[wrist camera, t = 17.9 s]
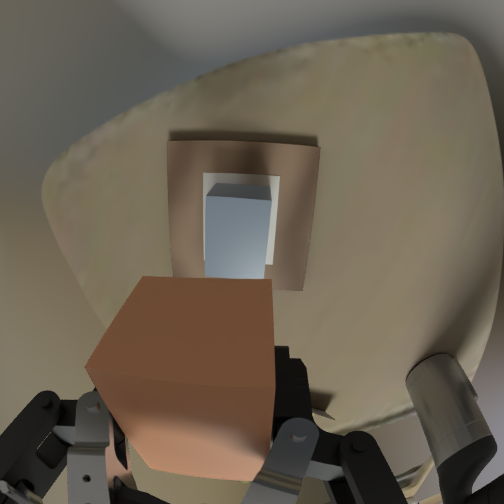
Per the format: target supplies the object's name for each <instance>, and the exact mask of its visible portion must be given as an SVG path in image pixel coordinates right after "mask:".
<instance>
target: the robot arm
mask: <svg viewBox="0 0 504 504" xmlns="http://www.w3.org/2000/svg"><path fill="white" fill-rule="evenodd" d="M274 352H275V385H276V388H275V400H274V412H273V423H272V433H271V443H270V445H272V447H271V449H270V451H269V453H268V455H267V457H266V459H265V461H264V463H263V465H262V467H261V469H260V471H259V472H258V473H257V474H256V476H255V478H254V480H253V481H252V483H251V485H250V487H249V489H248V491H247V493H246V494H245V497H244V498H243V500H242V502H241V504H295V502H296V500H297V497H298V495H299V492H300V490H301V486H302V482H303V479H304V476H309V477H313V478H318V479H322V480H323V482H324V485H325V487H326V490H327V492H328V495H329V498H330V500H331V503H332V504H408V502H407V500H406V498H405V496H404V494H403V492H402V490H401V488H400V486H399V484H398V482H397V480H396V479H395V477H394V475H393V473H392V472H391V469H390V467H389V465H388V463H387V461H386V459H385V457H384V456H383V454H382V452H381V450H380V448H379V446H378V444H377V442H376V440H375V439H374V438H373V437H372V436H371V435H370V434H368V433H366V432H364V431H353V432H350V433H348V434H346V435H345V436H342V435H337V434H333V433H329V432H326V431H324V430H322V429H321V428H319V427H318V426H317V425H316V423H315V422H314V419H313V415H312V407H311V399H310V391H309V383H308V376H307V369H306V366H305V365H304V363H303V362H302V361H301V359H297V358H290V356H289V347H288V346H274ZM406 387H407V390H408V392H409V395H410V397H411V400H412V402H413V405H414V407H415V410H416V412H417V415H418V417H419V420H420V423H421V426H422V428H423V431H424V434H425V436H426V440H427V442H428V445H429V448H430V451H431V454H432V457H433V460H434V463H435V466H436V469H437V473H438V476H439V486H440V491H441V495H442V499H443V504H504V474H502V475H501V476H499V477H498V478H496V479H495V480H493V481H492V482H491V483H489V484H487V485H486V486H484V487H483V488H481V489H479V490H478V491H476V492H474V493H473V494H472V486H473V483H474V482H475V480H476V478H477V476H478V475H479V474H480V472H481V471H482V470H483V469H484V467H485V466H486V465H487V464H488V463H489V462H490V460H491V459H492V458H493V457H494V455H495V454H496V452H497V444H496V442H495V439H494V437H493V435H492V433H491V431H490V429H489V426H488V425H487V422H486V420H485V418H484V416H483V414H482V412H481V411H480V408H479V406H478V404H477V402H476V401H477V399H478V395H477V393H476V392H475V390H474V388H473V386H472V384H471V382H470V381H469V379H468V377H467V375H466V374H465V372H464V370H463V369H462V367H461V365H460V364H459V362H458V360H457V359H456V358H452V357H451V356H450V355H448V354H437V355H434V356H432V357H430V358H428V359H426V360H424V361H423V362H421V363H420V364H419V365H417V366H416V367H415V368H414V369H413V370H412V371H411V373H410V374H409V376H408V377H407V380H406ZM50 432H51V433H50ZM49 433H50V434H49ZM48 434H49V435H48ZM47 436H48V437H47ZM46 437H47V438H46ZM45 438H46V439H45ZM44 439H45V440H44ZM43 440H44V441H43ZM42 442H43V443H42ZM41 443H42V444H41ZM40 444H41V445H40ZM39 445H40V447H39ZM38 447H39V448H38ZM37 448H38V449H37ZM66 465H67V481H68V482H67V484H68V503H69V504H170V503H167V502H165V501H163V500H160V499H159V498H156V497H154V496H152V495H150V494H148V493H146V492H142V491H138V490H137V486H136V483H135V480H134V478H133V475H132V471H131V464H130V456H129V447H128V438H127V437H126V435H125V434H124V432H123V431H122V429H121V428H120V426H119V425H118V423H117V422H116V420H115V419H114V417H113V416H112V414H111V412H110V411H109V409H108V408H107V406H106V404H105V403H104V401H103V399H102V398H101V396H100V394H99V392H98V391H97V389H96V387H95V388H94V390H93V391H91V392H87V393H85V394H83V395H82V396H81V397H80V398H79V399H78V400H60V398H59V397H58V395H57V394H56V393H55V392H53V391H42V392H40V393H38V394H37V395H36V396H35V397H34V398H33V399H32V400H31V401H30V403H29V404H28V405H27V406H26V407H25V408H24V409H23V410H22V411H21V413H20V414H19V415H18V416H17V417H16V418H15V419H14V420H13V422H12V423H11V424H10V425H9V426H8V427H7V428H6V430H5V431H4V432H3V433H2V434H1V436H0V504H43V502H42V499H43V497H44V496H45V494H46V493H47V492H48V490H49V489H50V487H51V486H52V485H53V483H54V482H55V480H56V479H57V477H58V476H59V475H60V474H61V472H62V471H63V469H64V468H65V467H66Z"/></svg>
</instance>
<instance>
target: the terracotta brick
mask: <svg viewBox="0 0 504 504" xmlns="http://www.w3.org/2000/svg"><path fill="white" fill-rule="evenodd" d="M85 368H86V370H87V372H88V374H89V376H90V378H91V380H92V381H93V384H94V385H95V387H96V389H97V391H98V392H99V394H100V396H101V398H102V399H103V401H104V403H105V404H106V406H107V408H108V409H109V411H110V412H111V414H112V416H113V417H114V419H115V420H116V422H117V423H118V425H119V426H120V428H121V429H122V431H123V432H124V434H125V435H126V437H127V438H128V439H129V441H130V442H131V444H132V445H133V446H134V448H135V449H136V451H137V452H138V453H139V455H140V456H141V457H142V458H143V460H144V461H145V462H146V463H147V465H148V466H149V467H150V469H154V470H159V471H165V472H170V473H176V474H182V475H190V476H197V477H204V478H214V479H227V480H243V481H253V480H254V478H255V476H256V474H257V473H258V472H259V471H260V469H261V467H262V465H263V463H264V461H265V459H266V457H267V455H268V453H269V451H270V443H271V433H272V423H273V412H274V400H275V388H276V385H275V352H274V324H273V299H272V279H231V278H185V277H152V276H143V277H142V278H141V280H140V281H139V282H138V284H137V285H136V287H135V288H134V290H133V291H132V293H131V294H130V296H129V297H128V299H127V300H126V302H125V303H124V305H123V306H122V308H121V309H120V311H119V312H118V314H117V315H116V317H115V318H114V320H113V321H112V323H111V325H110V326H109V328H108V329H107V331H106V333H105V334H104V336H103V337H102V339H101V341H100V342H99V344H98V345H97V347H96V349H95V350H94V352H93V354H92V355H91V357H90V359H89V360H88V362H87V364H86V365H85Z"/></svg>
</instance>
